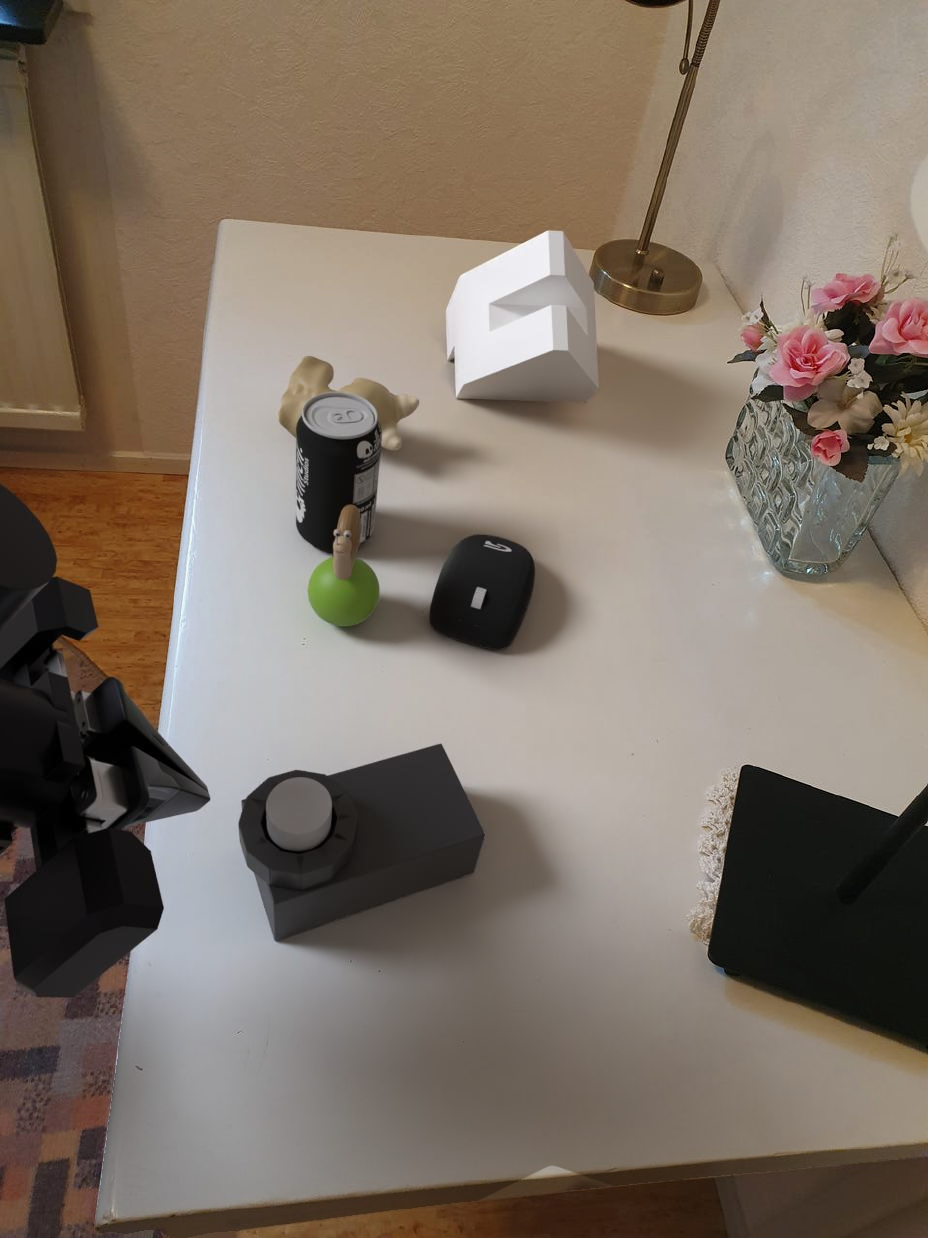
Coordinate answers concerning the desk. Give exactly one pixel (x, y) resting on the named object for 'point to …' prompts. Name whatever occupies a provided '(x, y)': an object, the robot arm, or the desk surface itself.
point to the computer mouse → (483, 591)
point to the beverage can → (336, 465)
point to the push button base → (365, 841)
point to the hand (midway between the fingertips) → (203, 799)
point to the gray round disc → (298, 814)
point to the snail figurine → (344, 577)
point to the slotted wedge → (525, 325)
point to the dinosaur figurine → (319, 374)
